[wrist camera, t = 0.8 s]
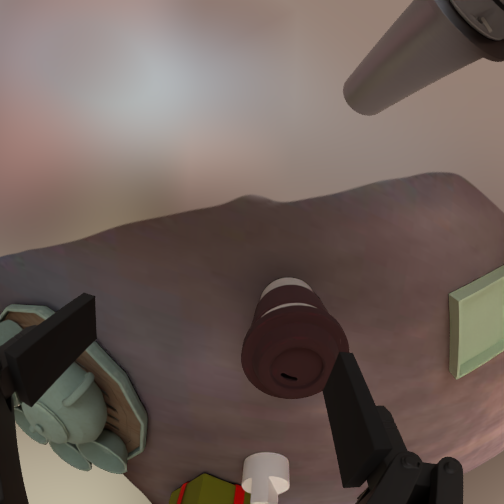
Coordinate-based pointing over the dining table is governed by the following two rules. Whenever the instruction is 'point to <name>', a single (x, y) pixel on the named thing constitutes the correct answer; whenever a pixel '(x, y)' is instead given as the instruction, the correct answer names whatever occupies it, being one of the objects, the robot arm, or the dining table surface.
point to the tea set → (81, 405)
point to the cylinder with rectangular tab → (265, 477)
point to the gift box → (209, 492)
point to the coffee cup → (291, 341)
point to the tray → (476, 323)
